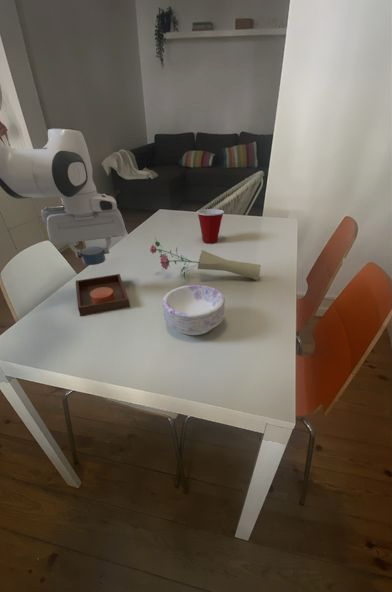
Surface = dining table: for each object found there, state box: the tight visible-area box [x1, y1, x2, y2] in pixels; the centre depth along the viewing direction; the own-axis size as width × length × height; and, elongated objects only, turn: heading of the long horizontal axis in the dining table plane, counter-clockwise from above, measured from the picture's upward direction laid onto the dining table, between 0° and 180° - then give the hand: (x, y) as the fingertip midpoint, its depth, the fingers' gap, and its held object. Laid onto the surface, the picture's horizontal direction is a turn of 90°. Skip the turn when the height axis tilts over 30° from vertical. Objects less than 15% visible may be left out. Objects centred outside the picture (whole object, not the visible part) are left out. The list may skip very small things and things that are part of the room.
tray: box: [75, 273, 131, 317], centre depth 94 cm, size 18×14×3 cm
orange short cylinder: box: [90, 287, 115, 304], centre depth 91 cm, size 6×6×3 cm
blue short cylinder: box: [80, 245, 107, 266], centre depth 91 cm, size 6×6×3 cm
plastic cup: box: [196, 208, 225, 245], centre depth 127 cm, size 11×11×12 cm
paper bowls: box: [162, 284, 226, 336], centre depth 80 cm, size 15×15×8 cm
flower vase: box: [149, 237, 262, 281], centre depth 102 cm, size 12×12×35 cm
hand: (93, 255), depth 91 cm, fingers closed on blue short cylinder, 6 cm apart
